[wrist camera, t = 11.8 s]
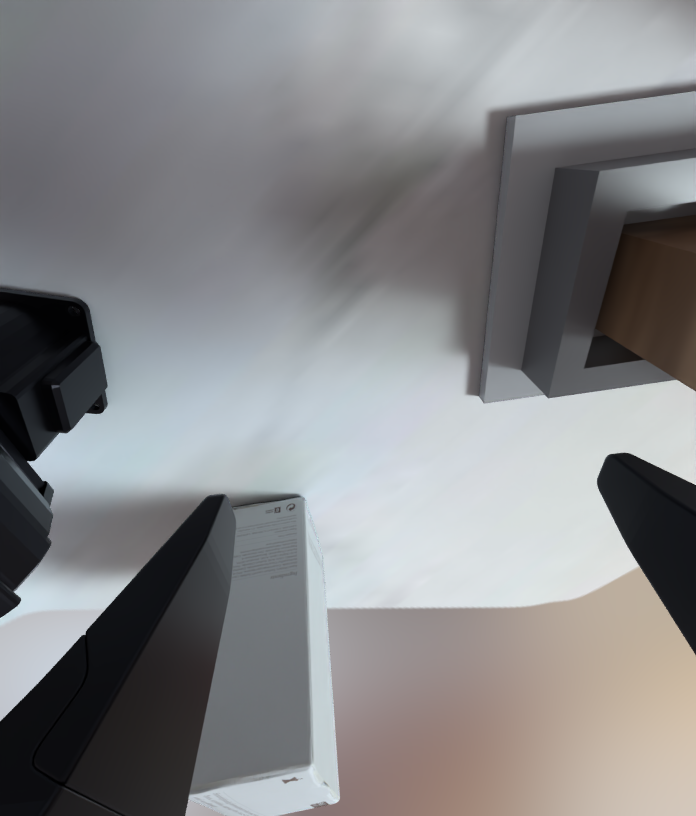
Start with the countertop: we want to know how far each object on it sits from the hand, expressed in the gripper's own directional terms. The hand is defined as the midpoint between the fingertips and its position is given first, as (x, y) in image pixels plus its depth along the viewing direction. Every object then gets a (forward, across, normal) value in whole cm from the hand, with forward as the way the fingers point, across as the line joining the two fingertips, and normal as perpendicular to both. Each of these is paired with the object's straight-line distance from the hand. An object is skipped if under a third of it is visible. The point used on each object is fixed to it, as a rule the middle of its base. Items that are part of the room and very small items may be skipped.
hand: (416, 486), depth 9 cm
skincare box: (+13, +8, +18) cm, 23 cm away
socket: (+13, -14, 0) cm, 19 cm away
